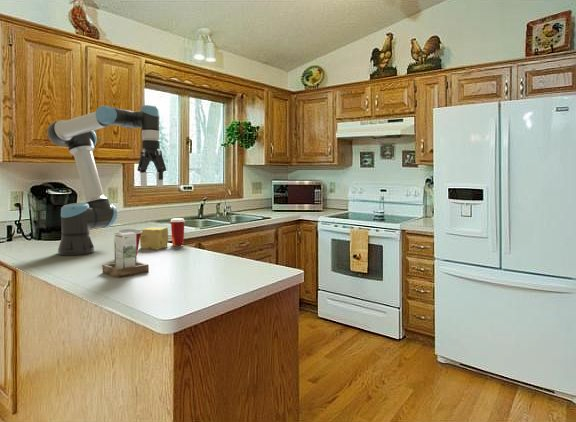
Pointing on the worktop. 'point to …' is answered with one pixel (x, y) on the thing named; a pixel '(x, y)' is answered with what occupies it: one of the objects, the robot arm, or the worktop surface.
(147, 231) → the cheese
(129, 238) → the syrup box
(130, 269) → the tray
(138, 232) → the plastic cup
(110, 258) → the worktop surface
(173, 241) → the paper cup
